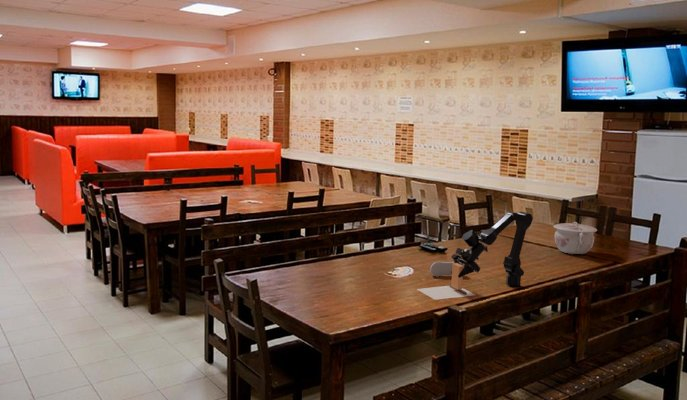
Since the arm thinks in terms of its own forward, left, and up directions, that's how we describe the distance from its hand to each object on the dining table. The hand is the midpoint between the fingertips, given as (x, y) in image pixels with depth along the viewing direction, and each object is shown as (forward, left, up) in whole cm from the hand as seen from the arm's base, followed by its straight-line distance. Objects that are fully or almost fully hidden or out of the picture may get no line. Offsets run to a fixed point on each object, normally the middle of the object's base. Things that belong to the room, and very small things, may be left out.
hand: (455, 275), depth 306 cm
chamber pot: (-101, -90, -9) cm, 135 cm away
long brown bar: (-2, -1, -8) cm, 9 cm away
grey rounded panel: (-3, -29, -9) cm, 30 cm away
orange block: (-1, 0, -7) cm, 7 cm away
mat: (+4, +2, -9) cm, 10 cm away
